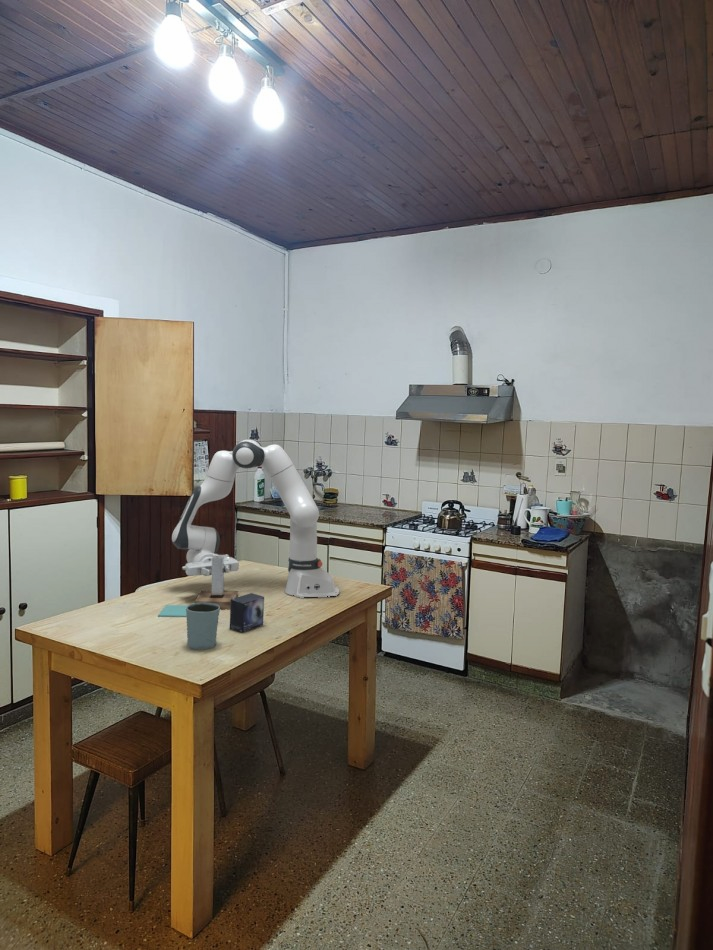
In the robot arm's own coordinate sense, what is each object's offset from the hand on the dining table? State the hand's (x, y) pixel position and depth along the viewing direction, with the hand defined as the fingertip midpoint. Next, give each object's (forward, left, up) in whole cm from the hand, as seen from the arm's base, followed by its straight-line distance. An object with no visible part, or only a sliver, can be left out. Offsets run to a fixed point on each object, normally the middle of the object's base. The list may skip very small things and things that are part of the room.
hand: (218, 571), depth 230 cm
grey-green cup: (-1, +41, -13) cm, 43 cm away
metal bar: (0, -1, -9) cm, 9 cm away
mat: (+13, +9, -13) cm, 20 cm away
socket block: (+1, -1, -13) cm, 13 cm away
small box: (-13, +25, -13) cm, 31 cm away
